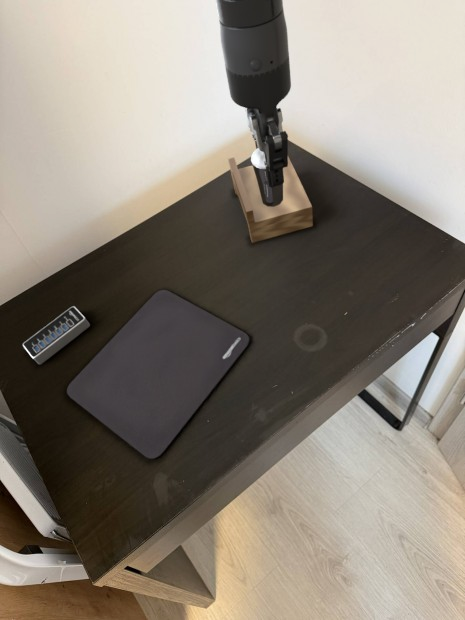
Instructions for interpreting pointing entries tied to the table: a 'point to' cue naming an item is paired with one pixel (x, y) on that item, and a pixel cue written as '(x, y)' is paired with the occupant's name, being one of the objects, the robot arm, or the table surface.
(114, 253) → the table surface
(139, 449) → the mouse pad
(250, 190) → the shelf
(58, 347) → the multiport hub
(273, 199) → the milkshake
